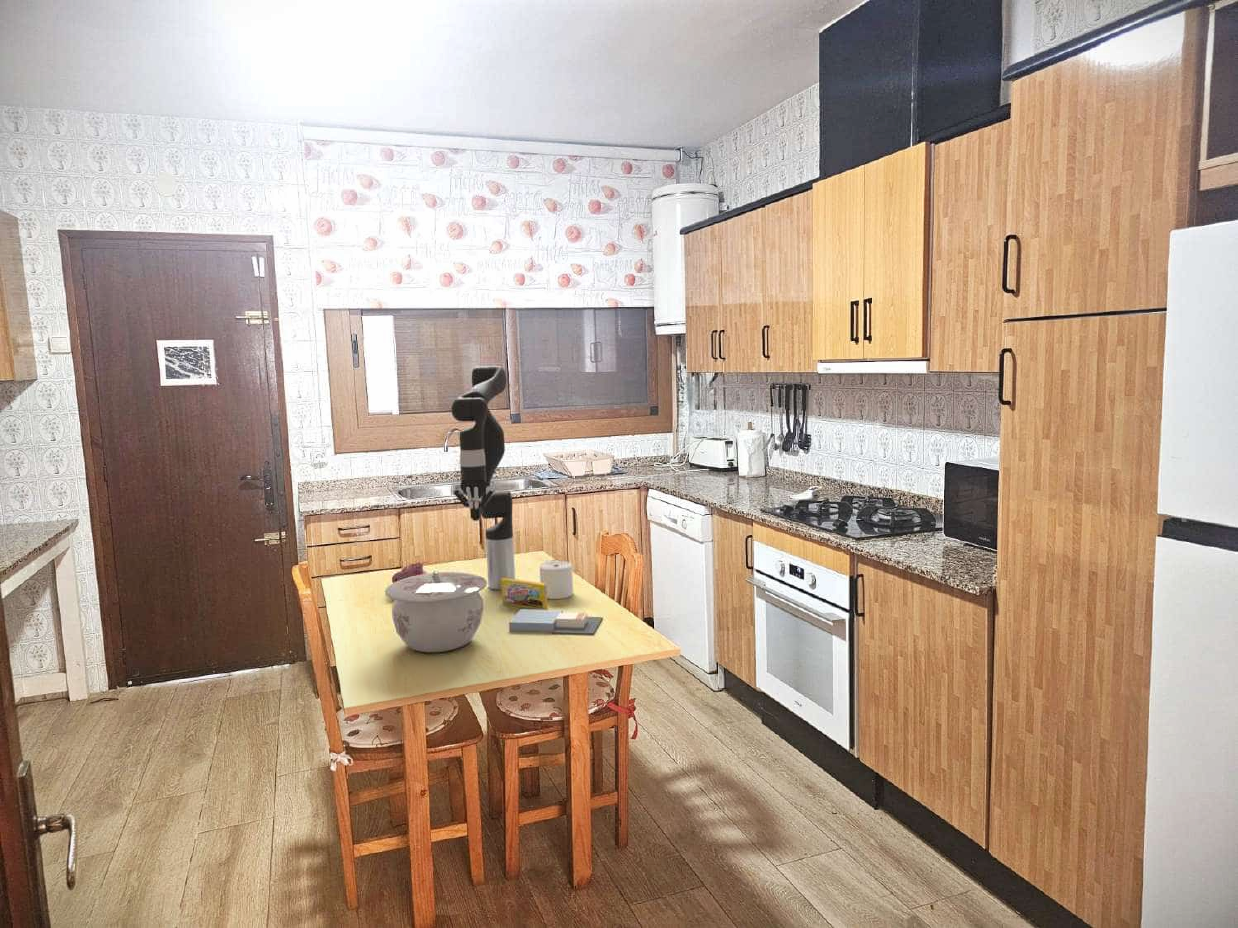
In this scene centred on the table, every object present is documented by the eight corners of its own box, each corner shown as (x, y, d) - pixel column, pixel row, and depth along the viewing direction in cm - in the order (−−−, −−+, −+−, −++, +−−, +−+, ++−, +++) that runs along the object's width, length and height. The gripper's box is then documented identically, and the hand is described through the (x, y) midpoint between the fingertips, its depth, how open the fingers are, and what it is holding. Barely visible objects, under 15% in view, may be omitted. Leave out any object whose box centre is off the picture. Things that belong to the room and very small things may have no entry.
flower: (442, 577, 281) (432, 551, 278) (432, 594, 267) (421, 568, 264) (403, 589, 282) (392, 564, 280) (391, 607, 268) (379, 581, 266)
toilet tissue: (553, 601, 259) (552, 571, 258) (532, 594, 268) (530, 564, 267) (579, 594, 266) (578, 564, 264) (558, 587, 275) (556, 558, 273)
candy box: (501, 604, 258) (500, 579, 257) (505, 602, 260) (504, 577, 259) (544, 610, 251) (543, 584, 249) (548, 608, 252) (547, 582, 251)
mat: (563, 617, 243) (563, 616, 242) (602, 618, 241) (602, 616, 241) (552, 633, 229) (552, 631, 229) (593, 634, 227) (593, 633, 227)
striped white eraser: (560, 620, 238) (560, 612, 238) (587, 621, 237) (586, 612, 237) (556, 627, 233) (555, 618, 232) (583, 627, 231) (582, 619, 231)
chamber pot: (444, 669, 205) (439, 590, 202) (366, 653, 218) (361, 578, 215) (511, 635, 229) (508, 563, 226) (437, 622, 242) (433, 554, 239)
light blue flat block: (521, 617, 244) (520, 609, 244) (562, 618, 242) (562, 610, 242) (509, 630, 232) (508, 622, 232) (553, 631, 230) (553, 623, 230)
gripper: (497, 462, 247) (500, 517, 249) (456, 462, 249) (459, 517, 251) (490, 465, 239) (492, 522, 242) (447, 465, 242) (450, 522, 244)
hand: (475, 520), depth 246 cm, fingers closed
